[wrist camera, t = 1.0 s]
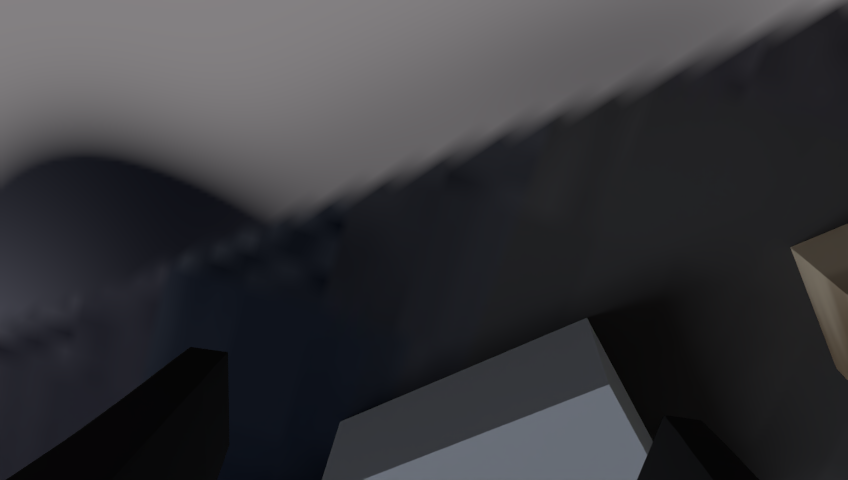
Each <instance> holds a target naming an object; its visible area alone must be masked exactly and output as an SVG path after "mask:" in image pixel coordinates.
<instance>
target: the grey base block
mask: <svg viewBox="0 0 848 480" xmlns="http://www.w3.org/2000/svg"><path fill="white" fill-rule="evenodd" d="M652 443H653V441H652V439H651V437H650V435H649V433H648V431H647V429H646V428H645V426H644V424H643V422H642V420H641V418H640V416H639V414H638V413H637V411H636V409H635V407H634V405H633V403H632V401H631V399H630V398H629V396H628V394H627V392H626V390H625V388H624V386H623V384H622V382H621V381H620V379H619V377H618V375H617V373H616V371H615V369H614V367H613V366H612V364H611V362H610V360H609V358H608V356H607V354H606V352H605V351H604V349H603V347H602V345H601V343H600V341H599V339H598V337H597V336H596V334H595V332H594V330H593V328H592V326H591V324H590V322H589V321H588V319H587V318H585V319H583V320H580V321H578V322H575V323H573V324H571V325H568V326H566V327H564V328H561V329H559V330H557V331H554V332H552V333H549V334H547V335H545V336H542V337H540V338H538V339H535V340H533V341H530V342H528V343H526V344H523V345H521V346H519V347H516V348H514V349H512V350H509V351H507V352H504V353H502V354H500V355H497V356H495V357H493V358H490V359H488V360H485V361H483V362H481V363H478V364H476V365H474V366H471V367H469V368H467V369H464V370H462V371H459V372H457V373H455V374H452V375H450V376H448V377H445V378H443V379H440V380H438V381H436V382H433V383H431V384H429V385H426V386H424V387H422V388H419V389H417V390H414V391H412V392H410V393H407V394H405V395H403V396H400V397H398V398H395V399H393V400H391V401H388V402H386V403H384V404H381V405H379V406H377V407H374V408H372V409H369V410H367V411H365V412H362V413H360V414H358V415H355V416H353V417H350V418H348V419H346V420H343V421H341V422H340V424H339V427H338V430H337V433H336V437H335V440H334V443H333V446H332V449H331V453H330V456H329V459H328V462H327V465H326V468H325V472H324V475H323V478H322V480H637V478H638V476H639V474H640V471H641V469H642V467H643V464H644V462H645V459H646V457H647V455H648V452H649V450H650V447H651V445H652Z"/></svg>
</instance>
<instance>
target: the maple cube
mask: <svg viewBox="0 0 848 480" xmlns="http://www.w3.org/2000/svg"><path fill="white" fill-rule="evenodd" d="M790 248H791V250H792V253H793V256H794V258H795V261H796V263H797V266H798V269H799V271H800V274H801V277H802V279H803V282H804V284H805V287H806V290H807V292H808V295H809V298H810V300H811V303H812V305H813V308H814V311H815V313H816V316H817V319H818V321H819V324H820V326H821V329H822V332H823V334H824V337H825V340H826V342H827V345H828V347H829V350H830V353H831V355H832V358H833V361H834V363H835V366H836V368H837V369H838V370H839V372H840V373H841V374H842V375H843V376H844V377H845V378H846V379H847V380H848V224H845V225H843V226H840V227H838V228H836V229H833V230H831V231H828V232H826V233H824V234H821V235H819V236H816V237H814V238H811V239H809V240H807V241H804V242H802V243H799V244H797V245H795V246H792V247H790Z"/></svg>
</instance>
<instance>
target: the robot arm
mask: <svg viewBox="0 0 848 480" xmlns="http://www.w3.org/2000/svg"><path fill="white" fill-rule="evenodd" d="M228 447H229V398H228V352H222V351H215V350H208V349H201V348H194V347H190V348H189V349H187V350H186V351H184V352H183V353H182V354H180V355H179V356H178V357H176V358H175V359H174V360H172V361H171V362H170V363H168V364H167V365H166V366H164V367H163V368H162V369H160V370H159V371H158V372H157V373H155V374H154V375H153V376H151V377H150V378H149V379H147V380H146V381H145V382H143V383H142V384H141V385H140V386H138V387H137V388H136V389H134V390H133V391H132V392H130V393H129V394H128V395H126V396H125V397H124V398H122V399H121V400H120V401H118V402H117V403H116V404H114V405H113V406H112V407H110V408H109V409H107V410H106V411H105V412H103V413H102V414H101V415H99V416H98V417H97V418H95V419H94V420H92V421H91V422H90V423H88V424H87V425H86V426H84V427H83V428H81V429H80V430H79V431H77V432H76V433H75V434H73V435H72V436H70V437H69V438H67V439H66V440H65V441H63V442H62V443H60V444H59V445H57V446H56V447H54V448H53V449H51V450H50V451H48V452H47V453H45V454H44V455H42V456H41V457H39V458H38V459H36V460H35V461H33V462H32V463H30V464H29V465H27V466H26V467H24V468H23V469H21V470H20V471H18V472H17V473H15V474H14V475H12V476H11V477H9V478H8V479H6V480H217V478H218V475H219V472H220V470H221V467H222V464H223V461H224V458H225V455H226V453H227V450H228ZM637 480H759V479H758V478H757V477H756V476H755V475H754V474H753V473H752V472H751V471H750V470H749V469H748V468H747V467H746V466H745V465H744V464H743V463H742V462H741V460H740V459H739V458H738V457H737V456H736V455H735V454H734V453H733V452H732V451H731V450H730V449H729V448H728V447H727V446H726V445H725V444H724V443H723V442H722V441H721V440H720V439H719V438H718V437H717V436H716V435H715V434H714V433H713V432H712V431H711V430H710V429H709V428H708V427H707V426H706V425H705V424H704V423H703V422H702V421H700V420H693V419H686V418H679V417H672V416H665V415H664V416H663V419H662V421H661V424H660V426H659V428H658V431H657V433H656V436H655V438H654V440H653V443H652V445H651V447H650V450H649V452H648V455H647V457H646V459H645V462H644V464H643V467H642V469H641V471H640V474H639V476H638V478H637Z"/></svg>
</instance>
